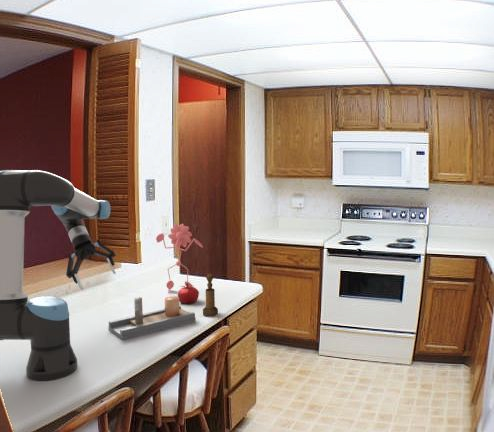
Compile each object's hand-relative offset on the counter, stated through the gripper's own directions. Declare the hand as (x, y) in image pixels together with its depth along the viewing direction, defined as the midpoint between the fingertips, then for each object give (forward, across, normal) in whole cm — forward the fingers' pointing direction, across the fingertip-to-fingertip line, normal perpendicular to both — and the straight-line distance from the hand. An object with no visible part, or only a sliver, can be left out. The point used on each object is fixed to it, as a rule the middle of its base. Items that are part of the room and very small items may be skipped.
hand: (98, 280), depth 185 cm
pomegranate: (+9, -28, -42) cm, 52 cm away
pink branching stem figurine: (-5, -29, -58) cm, 65 cm away
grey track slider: (+21, -15, -17) cm, 30 cm away
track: (+22, -11, -16) cm, 29 cm away
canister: (+20, -20, -19) cm, 34 cm away
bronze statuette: (+25, -34, -28) cm, 50 cm away
